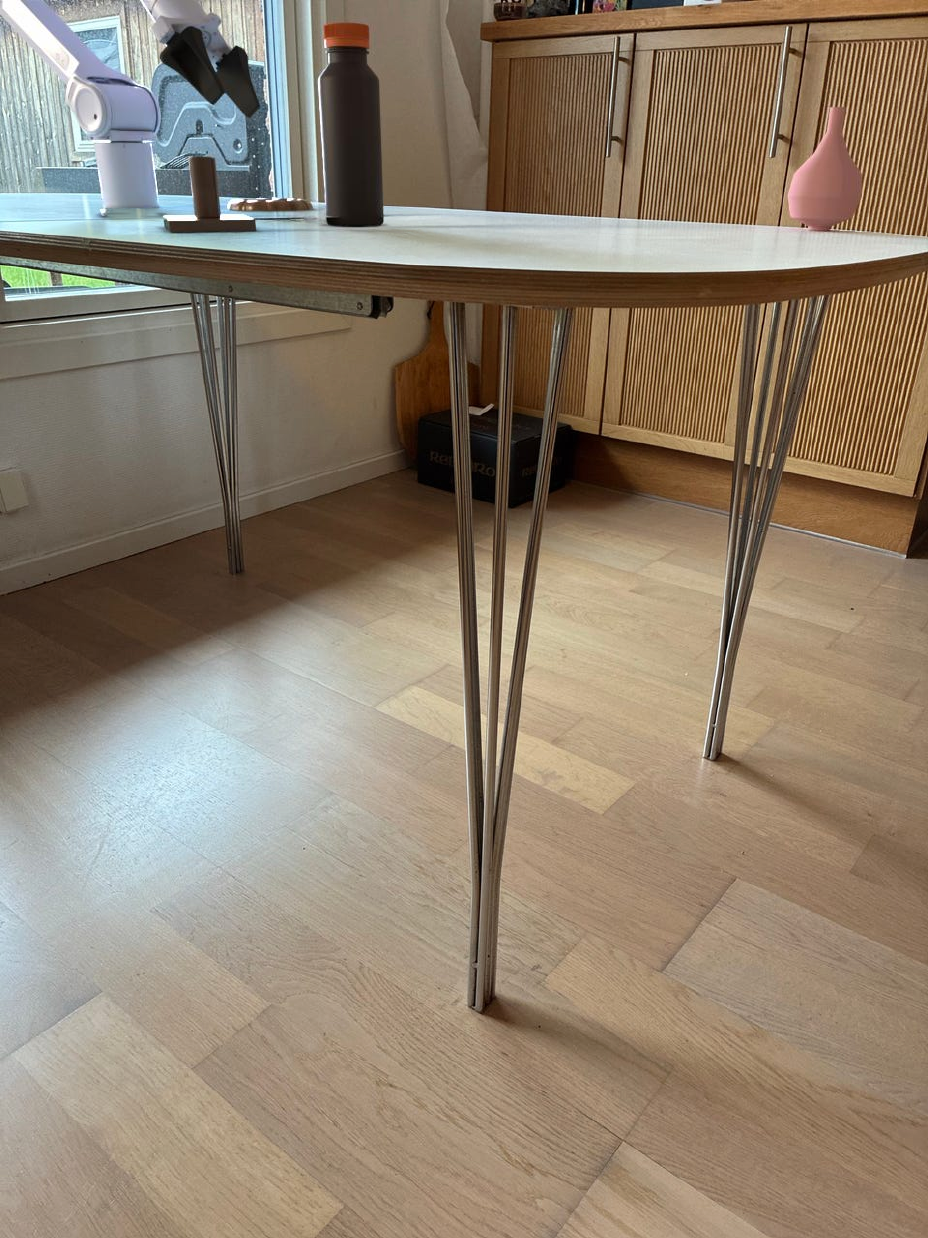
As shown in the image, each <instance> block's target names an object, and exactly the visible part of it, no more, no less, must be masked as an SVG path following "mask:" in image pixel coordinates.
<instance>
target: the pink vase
mask: <svg viewBox="0 0 928 1238" xmlns="http://www.w3.org/2000/svg"><path fill="white" fill-rule="evenodd" d="M845 114H846V106H830V107H829V113H828V121H827V128H826V133H825V134H824V136H823V137H822V139H821V140H820V142H819V144H818V145H817V147H816V148H815V150H814V152H813V154H812V155H811V156H810V157H809V158H807V160H806V161H805V162H804V163H803V164H801V166H800V167H799V168H798V169H796V171H795V172H794V173H793V176H792V179H791V183H790V186H789V188H788V193H787V201H788V203H787V204H788V210H789V217H790V218H792V219H794V220H795V221H798V222H799V223H801V224H803V225H805V226H807V227H808V228H807V230H808V231H815V232H817V231H819V232H821V231H822V232H825V231H826V232H827V231H831V227H834V226H836V225H838V224H841V223H844V222H846V221H848V220H851V219H853V217H854V215H855V213H856V210H857V208H858V206H859V204H860V202H861V199H862V197H863V173H862V172H861V170H860V168H859V167H858V166H857V164H856V163H855V161H854V160H853V158H852V156H850V154H849V151H848V148H847V144H846V141H845V137H844V134H843V126H844V121H845V116H846V115H845Z"/></svg>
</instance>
